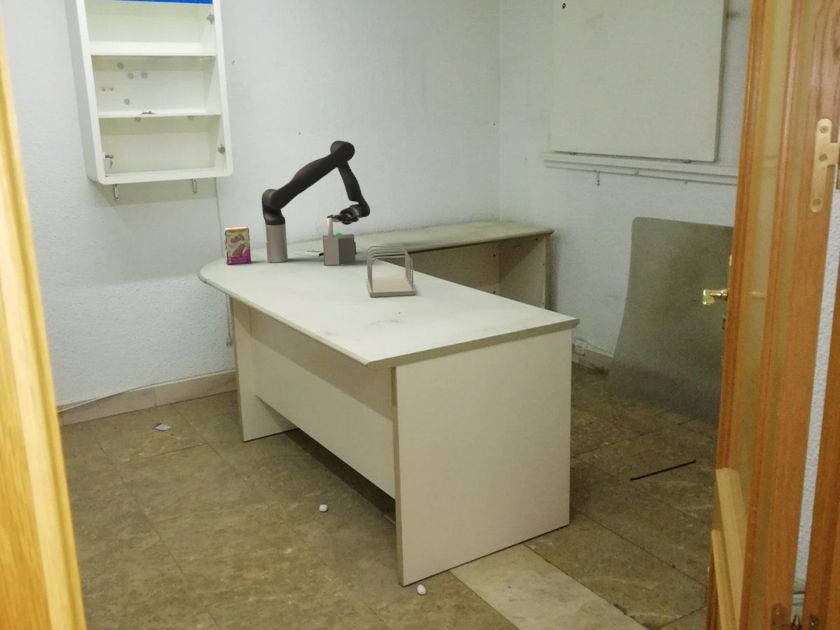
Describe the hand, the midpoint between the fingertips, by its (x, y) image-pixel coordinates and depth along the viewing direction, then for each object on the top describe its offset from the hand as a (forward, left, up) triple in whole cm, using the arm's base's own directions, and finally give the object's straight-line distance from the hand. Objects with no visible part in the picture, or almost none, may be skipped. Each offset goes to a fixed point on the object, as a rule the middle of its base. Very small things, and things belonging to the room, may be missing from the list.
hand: (338, 220), depth 375 cm
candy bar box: (-47, +5, -19) cm, 51 cm away
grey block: (0, -5, -18) cm, 19 cm away
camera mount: (0, +15, -19) cm, 24 cm away
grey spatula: (-4, -10, -18) cm, 21 cm away
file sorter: (+18, -62, -19) cm, 68 cm away
